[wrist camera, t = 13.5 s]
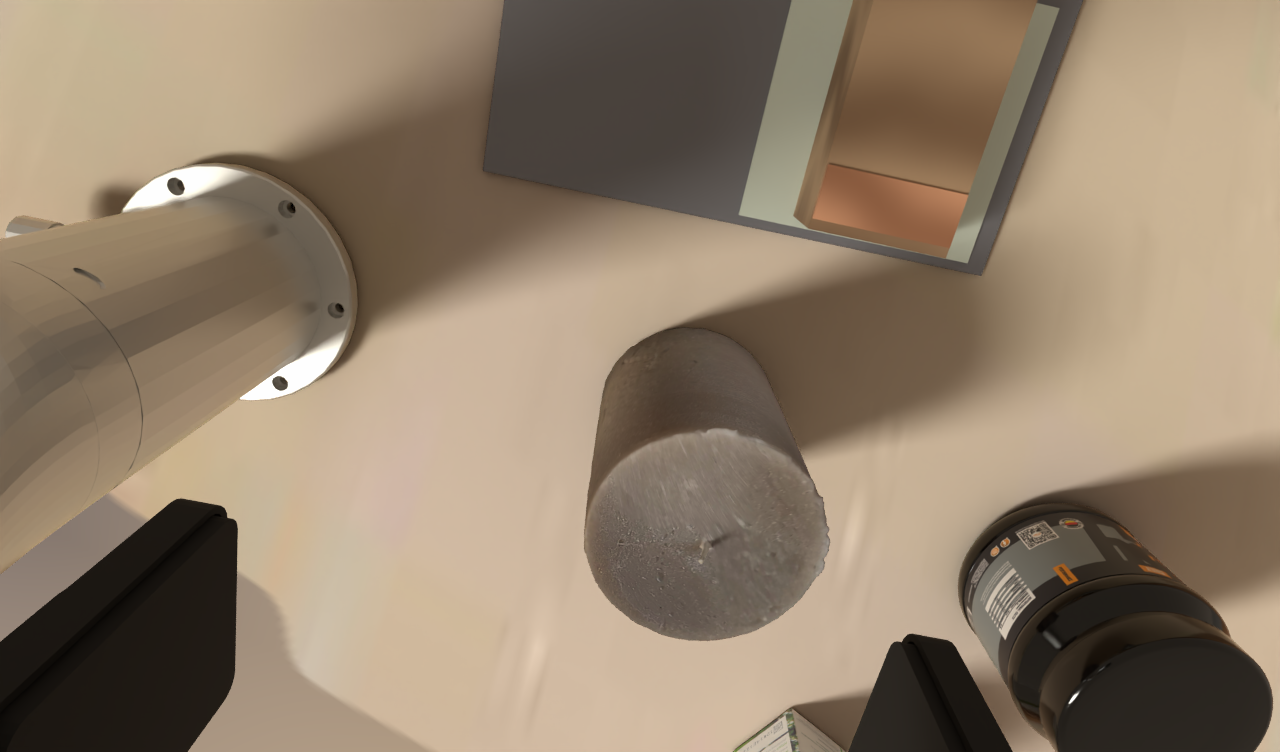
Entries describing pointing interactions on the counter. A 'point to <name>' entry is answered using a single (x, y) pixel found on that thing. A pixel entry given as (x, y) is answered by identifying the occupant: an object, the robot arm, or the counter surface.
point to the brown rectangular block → (909, 118)
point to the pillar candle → (699, 492)
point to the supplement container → (1107, 639)
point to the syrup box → (790, 737)
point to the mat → (720, 108)
